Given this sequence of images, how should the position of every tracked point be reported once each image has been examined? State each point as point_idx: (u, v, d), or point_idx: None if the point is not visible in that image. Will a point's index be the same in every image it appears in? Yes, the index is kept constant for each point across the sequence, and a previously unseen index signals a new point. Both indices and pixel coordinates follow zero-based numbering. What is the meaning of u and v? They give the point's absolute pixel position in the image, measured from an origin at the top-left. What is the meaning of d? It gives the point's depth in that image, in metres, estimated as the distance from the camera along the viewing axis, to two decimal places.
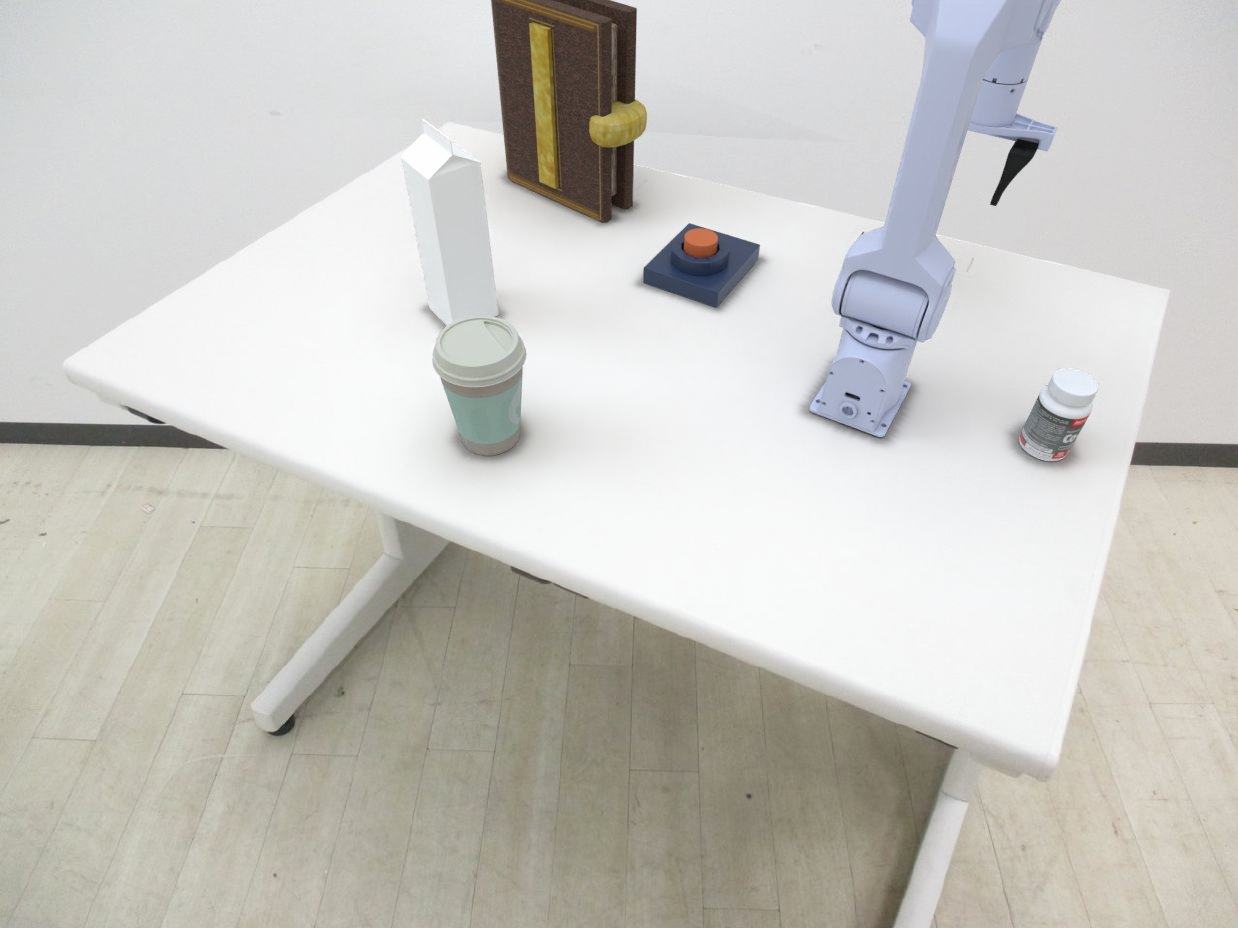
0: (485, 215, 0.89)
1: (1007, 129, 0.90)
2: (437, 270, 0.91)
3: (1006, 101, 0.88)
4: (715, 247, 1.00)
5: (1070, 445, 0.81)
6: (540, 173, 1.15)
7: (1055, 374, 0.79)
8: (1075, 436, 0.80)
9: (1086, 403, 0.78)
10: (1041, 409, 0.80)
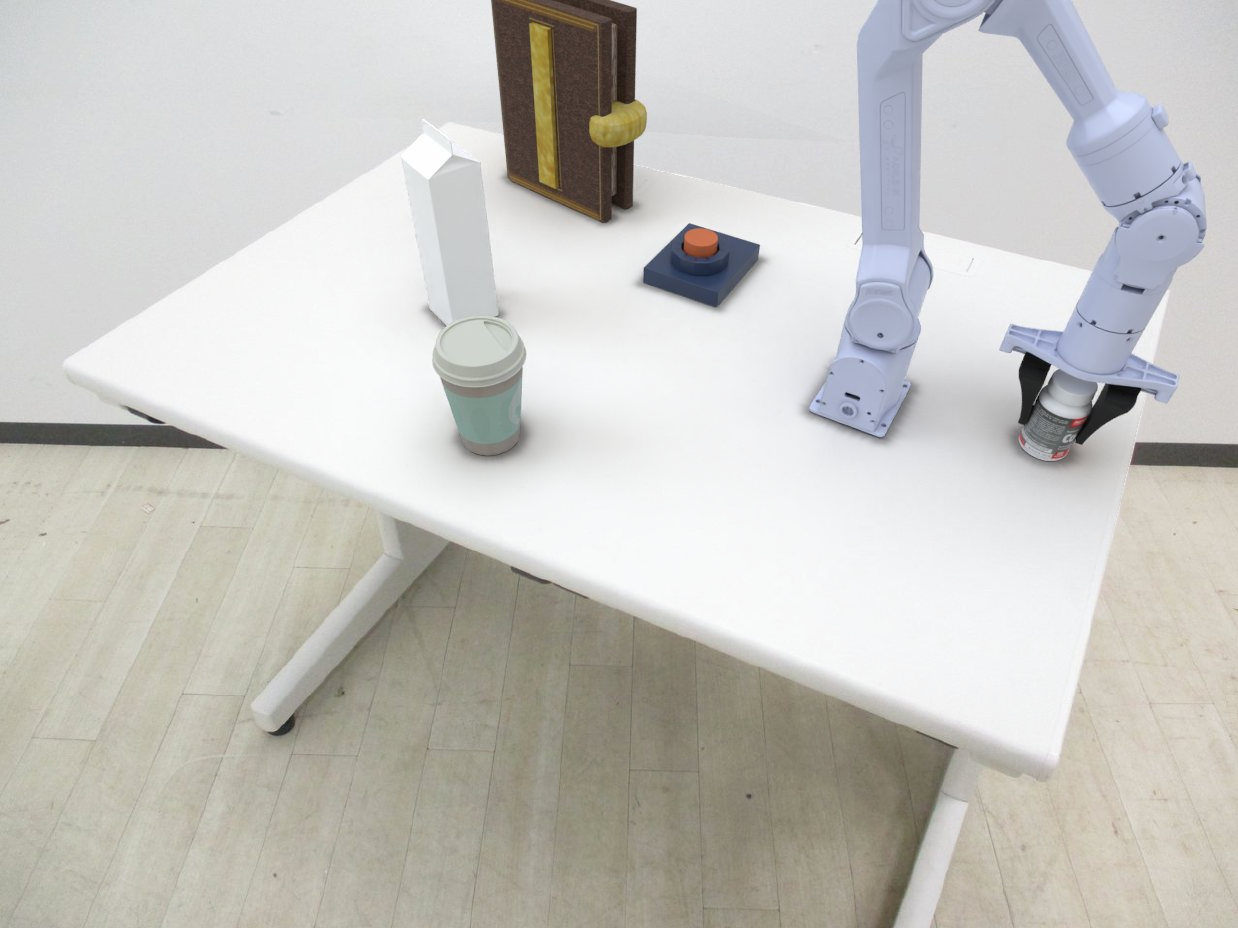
0: (485, 215, 0.89)
1: (1119, 378, 0.74)
2: (437, 270, 0.91)
3: (1120, 349, 0.72)
4: (715, 247, 1.00)
5: (1070, 445, 0.81)
6: (540, 173, 1.15)
7: (1055, 374, 0.79)
8: (1075, 436, 0.80)
9: (1086, 403, 0.78)
10: (1040, 409, 0.80)
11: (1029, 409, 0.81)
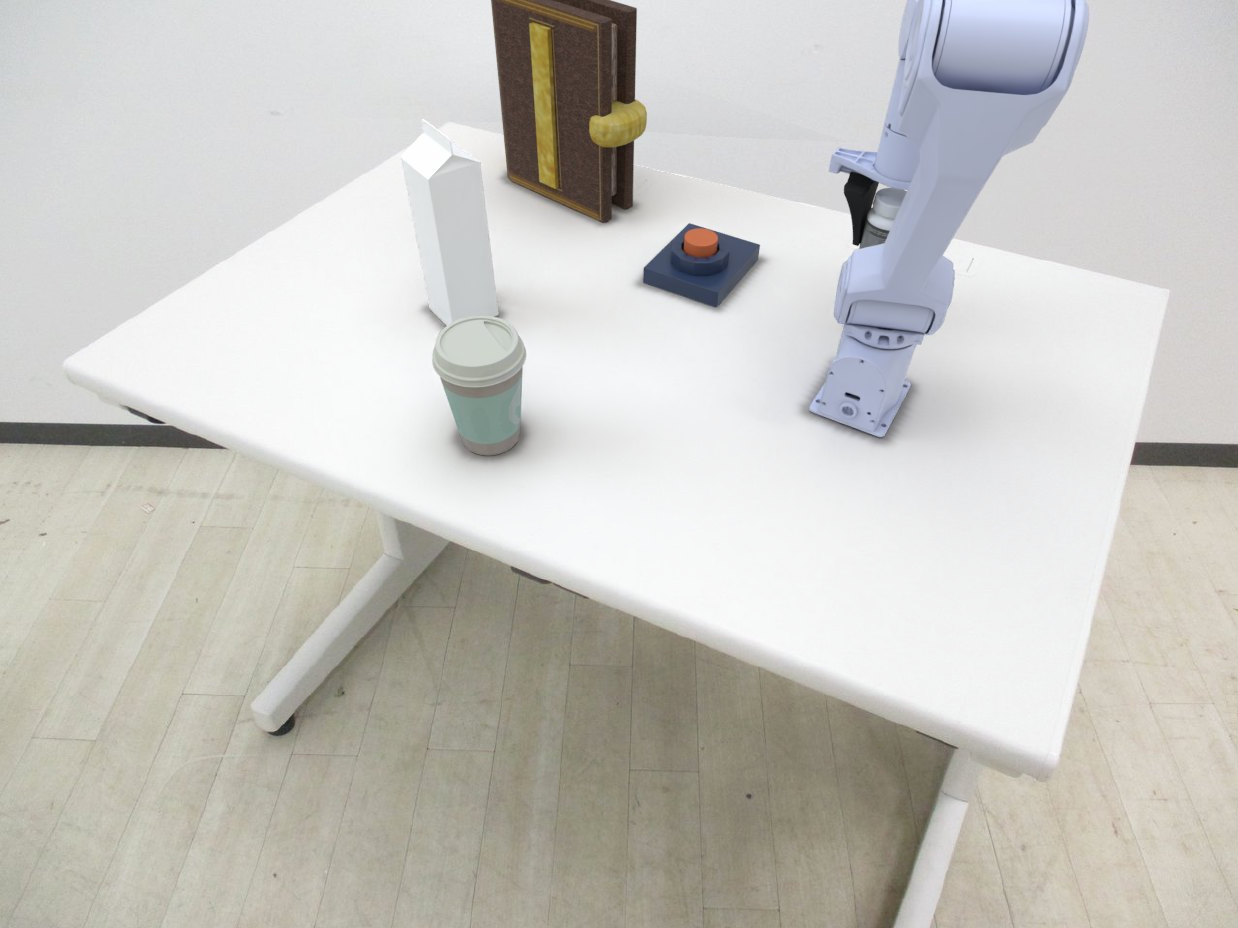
0: (485, 215, 0.89)
1: None
2: (437, 270, 0.91)
3: (920, 155, 0.81)
4: (715, 247, 1.00)
5: None
6: (540, 173, 1.15)
7: (878, 192, 0.88)
8: None
9: None
10: (867, 226, 0.89)
11: (858, 228, 0.90)
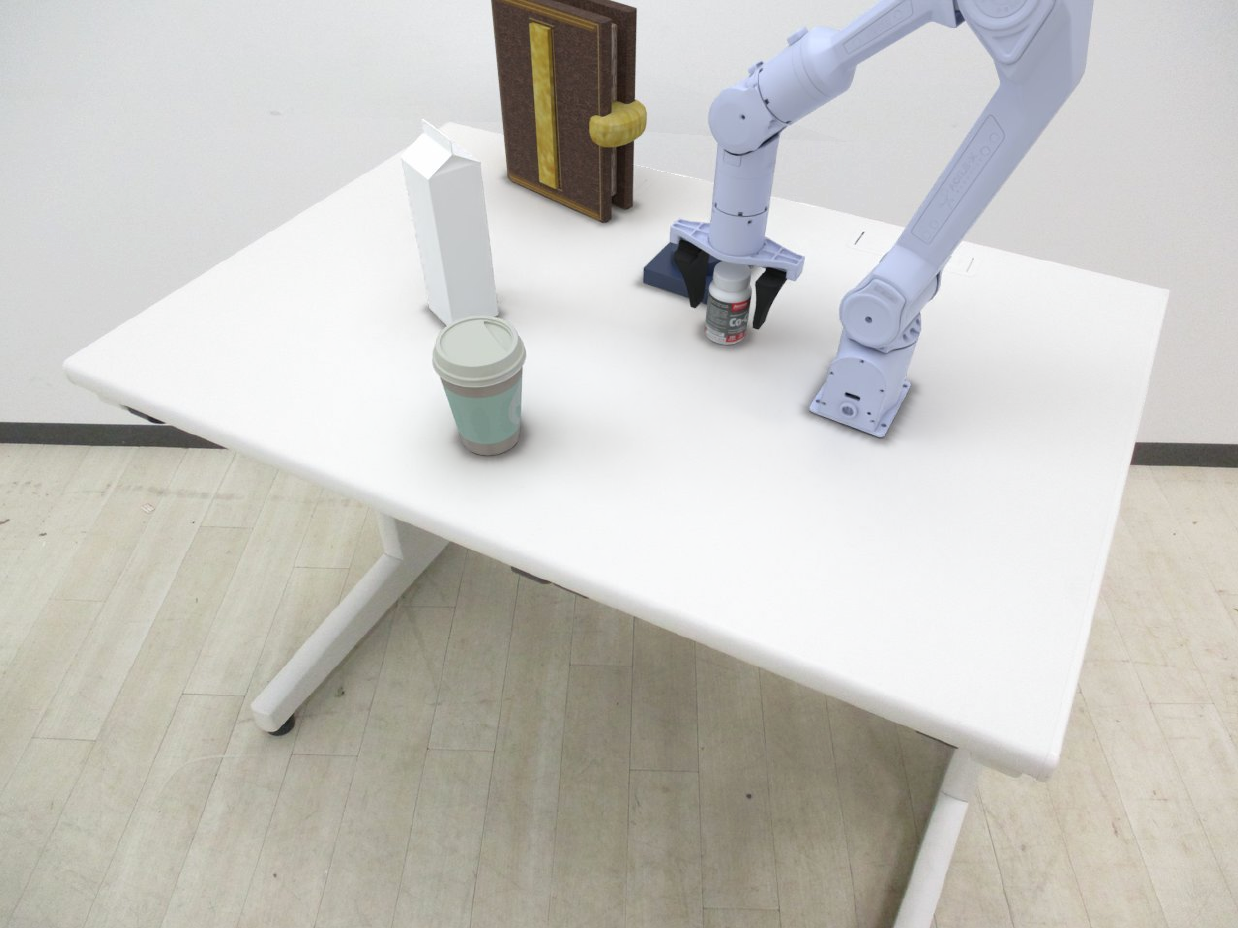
0: (485, 215, 0.89)
1: (751, 259, 0.85)
2: (437, 269, 0.91)
3: (745, 231, 0.84)
4: None
5: (739, 329, 0.94)
6: (540, 173, 1.15)
7: (717, 265, 0.91)
8: (740, 320, 0.93)
9: (740, 288, 0.90)
10: (709, 297, 0.92)
11: (692, 292, 0.93)
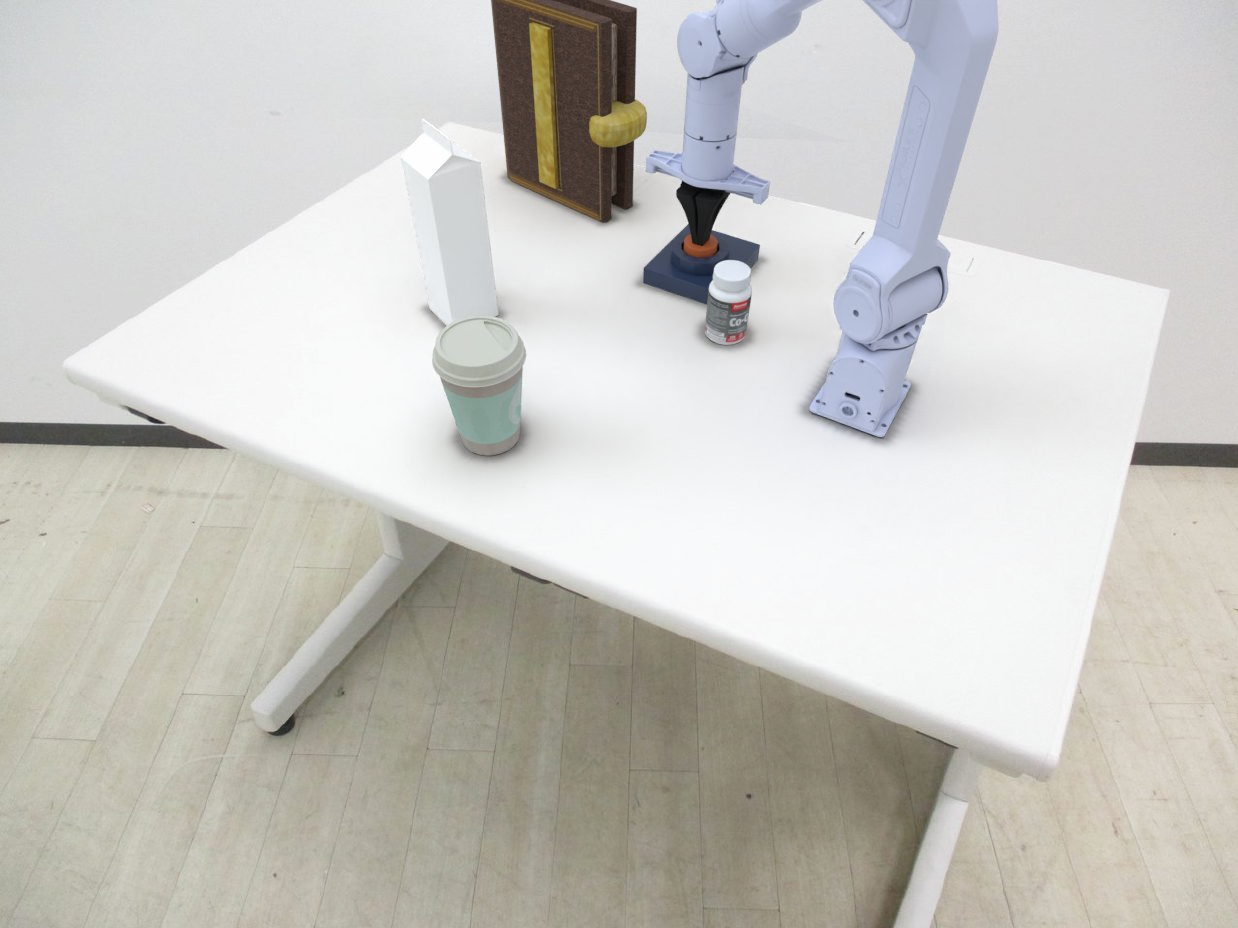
0: (485, 215, 0.89)
1: (720, 183, 0.92)
2: (437, 269, 0.91)
3: (713, 157, 0.90)
4: (714, 251, 1.01)
5: (739, 329, 0.94)
6: (540, 173, 1.15)
7: (717, 265, 0.91)
8: (740, 320, 0.93)
9: (740, 288, 0.90)
10: (709, 297, 0.92)
11: (694, 228, 0.99)
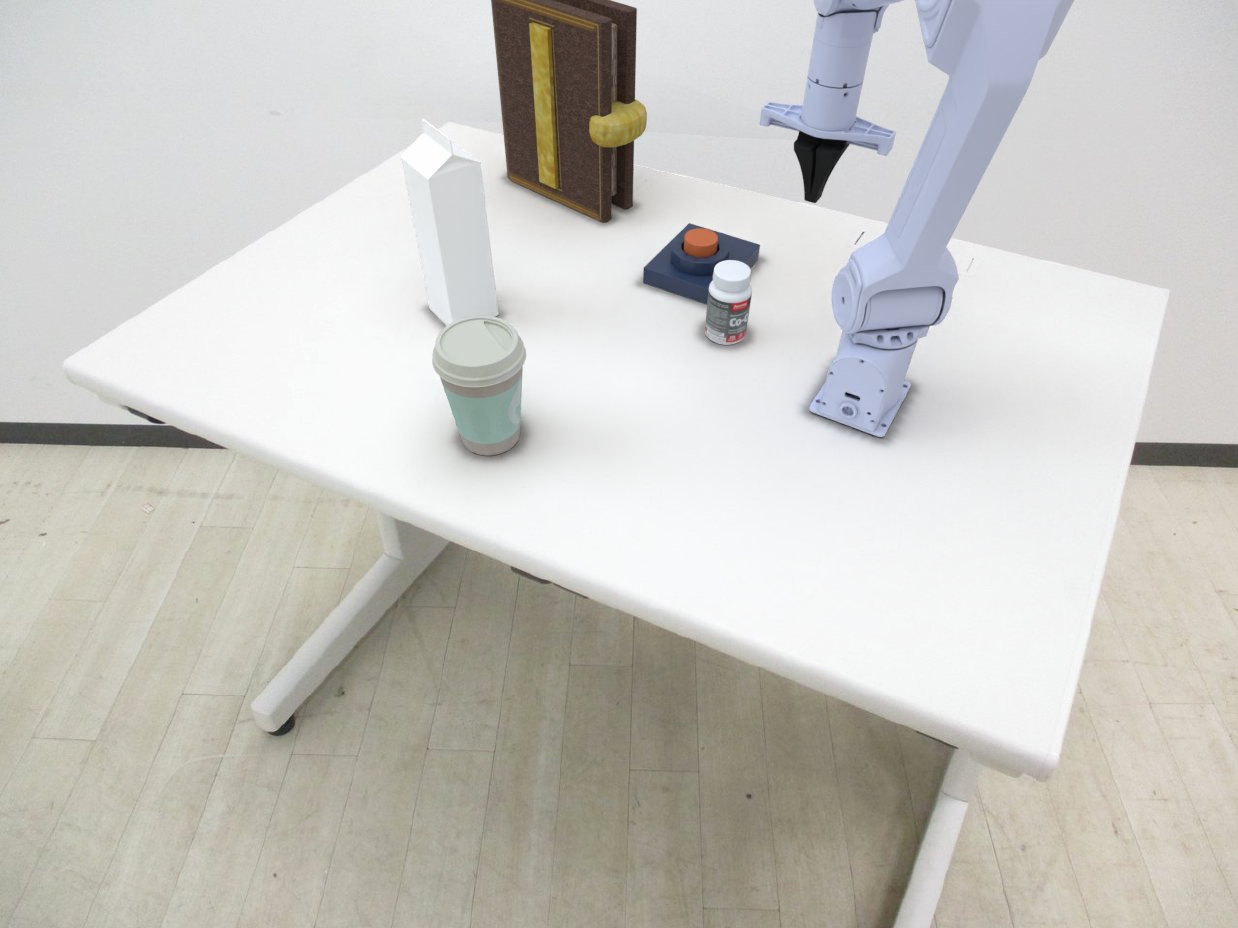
0: (485, 215, 0.89)
1: (844, 133, 0.88)
2: (437, 269, 0.91)
3: (840, 104, 0.86)
4: (715, 247, 1.00)
5: (739, 329, 0.94)
6: (540, 173, 1.15)
7: (717, 265, 0.91)
8: (740, 320, 0.93)
9: (740, 288, 0.90)
10: (709, 297, 0.92)
11: (809, 183, 0.95)
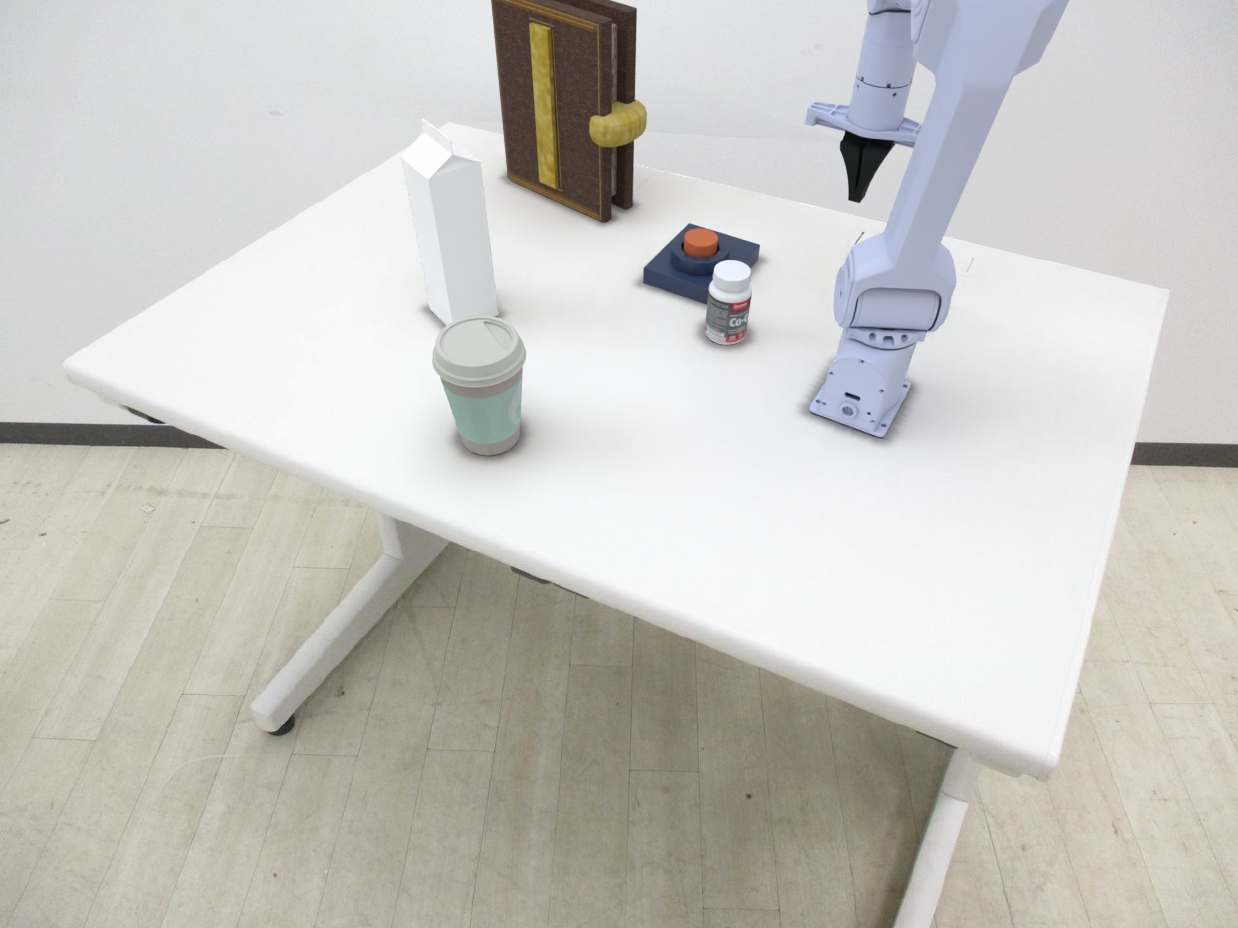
0: (485, 215, 0.89)
1: (892, 133, 0.88)
2: (437, 269, 0.91)
3: (889, 104, 0.87)
4: (715, 247, 1.00)
5: (739, 329, 0.94)
6: (540, 173, 1.15)
7: (717, 265, 0.91)
8: (740, 320, 0.93)
9: (740, 288, 0.90)
10: (709, 297, 0.92)
11: (854, 183, 0.95)
